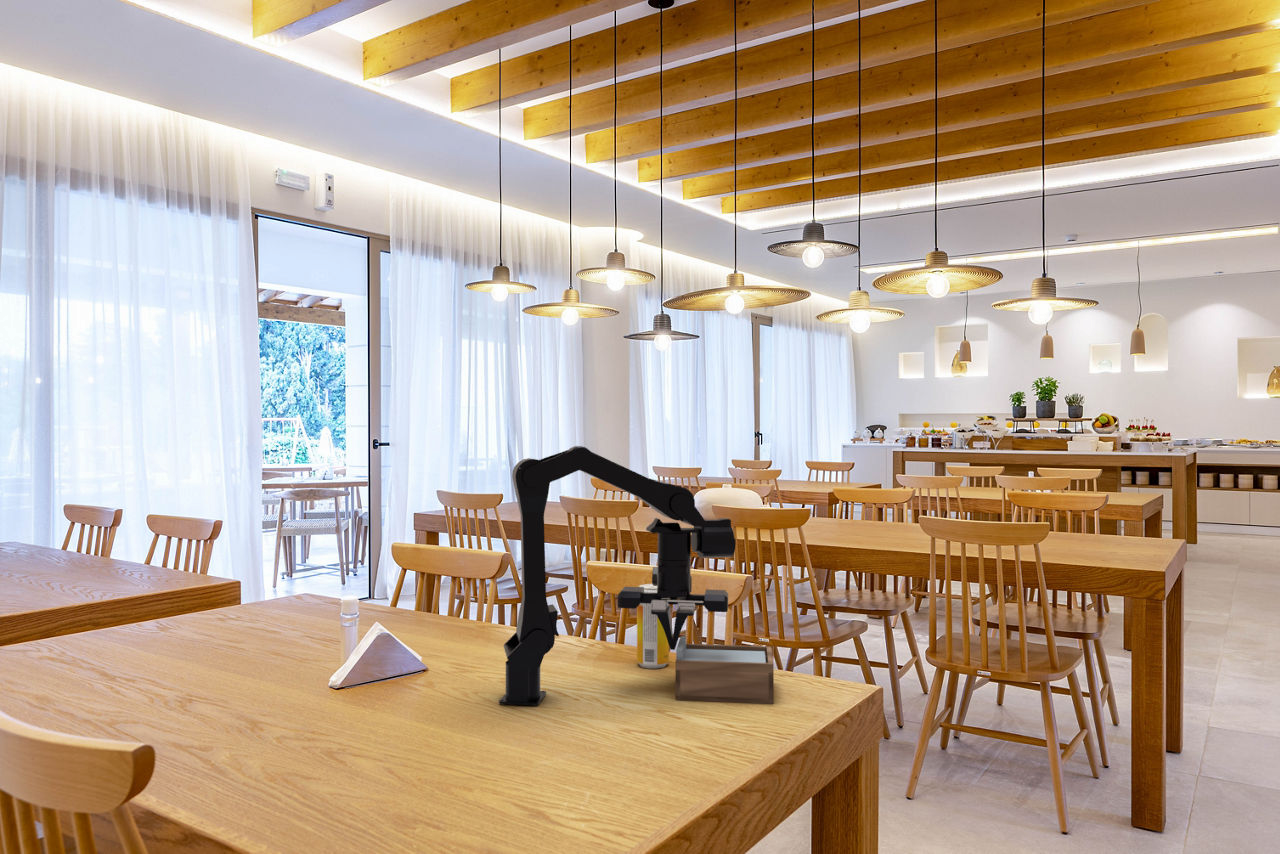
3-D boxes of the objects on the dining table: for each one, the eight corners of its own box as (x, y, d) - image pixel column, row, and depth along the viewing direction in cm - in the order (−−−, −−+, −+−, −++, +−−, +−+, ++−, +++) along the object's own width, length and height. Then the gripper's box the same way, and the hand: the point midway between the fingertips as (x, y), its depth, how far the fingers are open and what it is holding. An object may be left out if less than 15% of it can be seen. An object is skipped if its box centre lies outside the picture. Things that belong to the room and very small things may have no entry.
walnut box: (773, 703, 137) (773, 664, 138) (675, 700, 139) (675, 661, 140) (771, 682, 149) (771, 646, 149) (680, 679, 151) (680, 643, 151)
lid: (766, 670, 139) (766, 652, 139) (676, 667, 141) (676, 649, 141) (764, 655, 148) (764, 638, 148) (680, 652, 150) (680, 636, 150)
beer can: (669, 661, 164) (669, 583, 164) (667, 669, 158) (667, 589, 158) (638, 660, 164) (638, 583, 165) (635, 668, 158) (635, 588, 158)
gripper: (729, 553, 153) (728, 640, 152) (626, 550, 155) (625, 635, 155) (728, 562, 142) (726, 656, 141) (617, 559, 144) (616, 651, 144)
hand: (672, 649), depth 146 cm, fingers closed
